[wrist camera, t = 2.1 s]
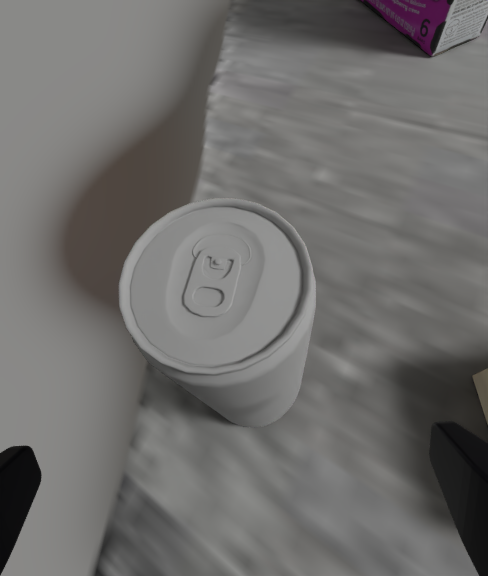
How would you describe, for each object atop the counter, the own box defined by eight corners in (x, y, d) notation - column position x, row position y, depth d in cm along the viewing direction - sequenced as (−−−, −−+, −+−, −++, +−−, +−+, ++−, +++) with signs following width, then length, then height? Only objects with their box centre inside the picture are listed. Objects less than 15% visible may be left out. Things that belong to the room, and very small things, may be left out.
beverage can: (307, 344, 20) (331, 203, 9) (292, 438, 18) (301, 403, 7) (221, 329, 21) (150, 183, 10) (199, 417, 19) (79, 356, 8)
